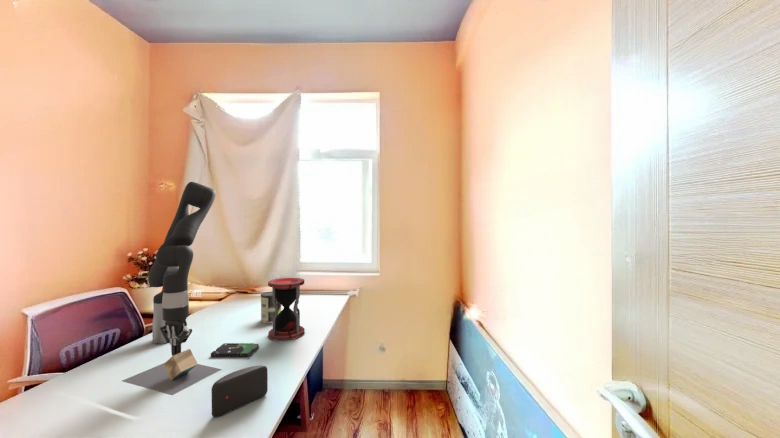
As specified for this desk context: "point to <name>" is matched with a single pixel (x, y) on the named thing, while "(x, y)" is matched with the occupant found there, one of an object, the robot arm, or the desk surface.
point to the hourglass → (286, 308)
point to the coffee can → (267, 308)
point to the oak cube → (180, 364)
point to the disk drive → (235, 350)
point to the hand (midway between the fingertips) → (176, 355)
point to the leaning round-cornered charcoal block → (239, 389)
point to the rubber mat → (162, 382)
